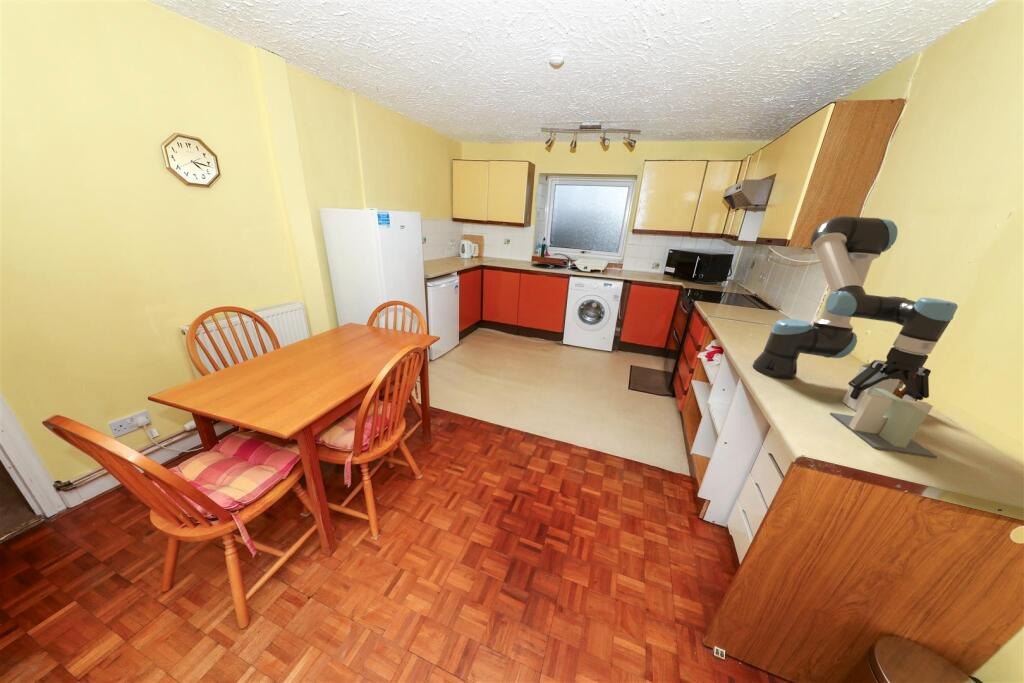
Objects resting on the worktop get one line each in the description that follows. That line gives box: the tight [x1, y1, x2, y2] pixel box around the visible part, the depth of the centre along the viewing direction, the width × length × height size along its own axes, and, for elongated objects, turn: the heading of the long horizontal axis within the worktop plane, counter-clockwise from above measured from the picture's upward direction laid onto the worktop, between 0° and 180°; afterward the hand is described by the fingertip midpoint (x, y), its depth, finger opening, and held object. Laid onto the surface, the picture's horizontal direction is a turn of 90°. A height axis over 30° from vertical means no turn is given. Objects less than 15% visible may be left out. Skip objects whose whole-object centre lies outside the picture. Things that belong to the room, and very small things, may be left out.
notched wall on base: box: [829, 394, 939, 459], centre depth 100 cm, size 16×18×13 cm
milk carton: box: [842, 359, 900, 413], centre depth 114 cm, size 7×7×19 cm
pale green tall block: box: [870, 388, 929, 448], centre depth 100 cm, size 14×3×12 cm, turn 170°
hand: (875, 411), depth 105 cm, fingers open, 13 cm apart
